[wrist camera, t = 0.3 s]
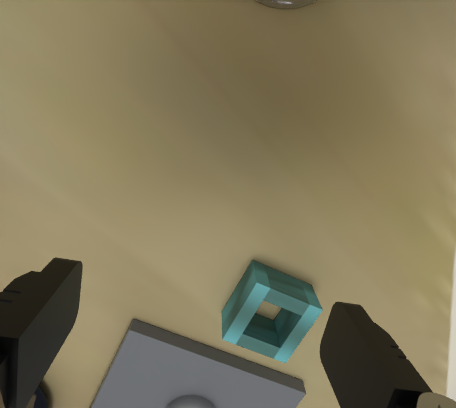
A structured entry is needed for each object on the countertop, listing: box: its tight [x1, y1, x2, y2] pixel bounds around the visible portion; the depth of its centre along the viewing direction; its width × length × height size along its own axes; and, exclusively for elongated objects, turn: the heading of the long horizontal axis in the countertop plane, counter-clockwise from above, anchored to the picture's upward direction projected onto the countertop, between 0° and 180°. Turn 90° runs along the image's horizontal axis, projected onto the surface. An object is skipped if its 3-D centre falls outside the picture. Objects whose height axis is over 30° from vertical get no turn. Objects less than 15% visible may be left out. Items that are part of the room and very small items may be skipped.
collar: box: [222, 260, 323, 363], centre depth 30 cm, size 6×6×4 cm
